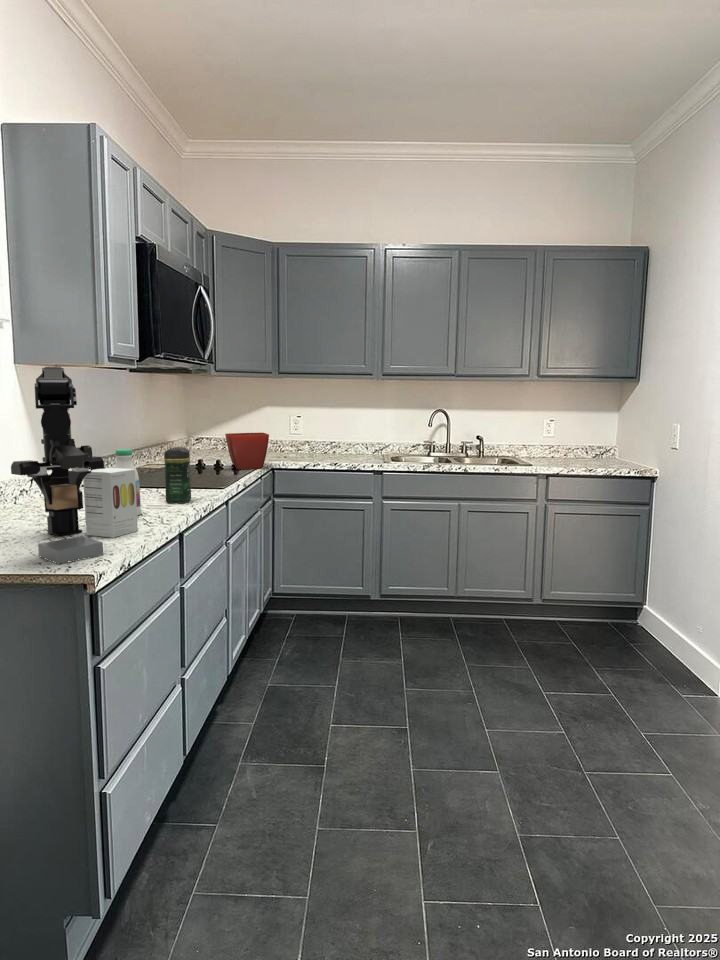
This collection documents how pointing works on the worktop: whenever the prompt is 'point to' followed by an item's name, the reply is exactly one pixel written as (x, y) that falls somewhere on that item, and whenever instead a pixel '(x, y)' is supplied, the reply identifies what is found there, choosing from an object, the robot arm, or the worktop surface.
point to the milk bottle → (126, 463)
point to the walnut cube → (63, 497)
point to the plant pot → (247, 449)
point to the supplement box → (110, 502)
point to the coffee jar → (177, 475)
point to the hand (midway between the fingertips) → (62, 503)
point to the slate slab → (70, 549)
